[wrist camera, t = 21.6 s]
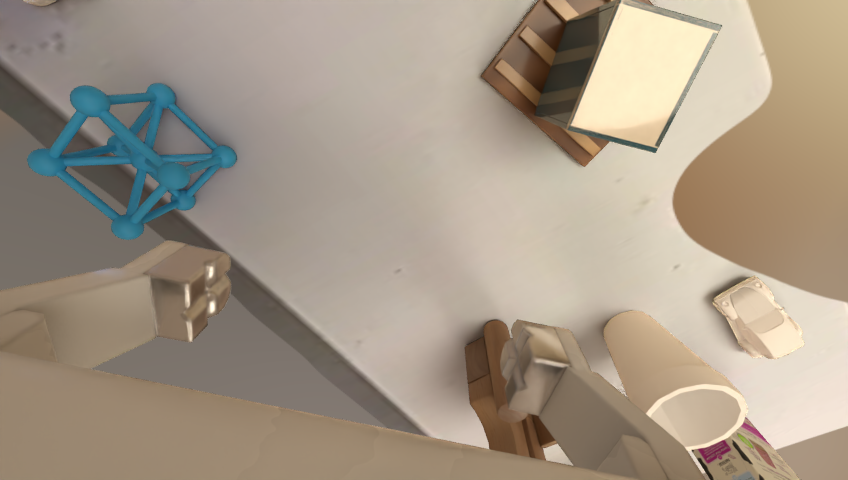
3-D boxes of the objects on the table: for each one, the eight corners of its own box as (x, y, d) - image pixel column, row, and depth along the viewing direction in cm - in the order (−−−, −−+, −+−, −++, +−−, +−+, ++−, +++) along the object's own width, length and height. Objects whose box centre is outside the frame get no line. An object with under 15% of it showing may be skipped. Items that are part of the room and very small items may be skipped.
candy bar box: (648, 390, 50) (736, 524, 35) (676, 368, 48) (781, 500, 33) (704, 420, 52) (809, 558, 37) (733, 400, 50) (856, 538, 35)
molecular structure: (115, 142, 38) (13, 163, 29) (165, 77, 35) (69, 78, 26) (192, 210, 41) (122, 248, 32) (245, 156, 38) (183, 181, 29)
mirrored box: (655, 153, 25) (722, 25, 21) (567, 130, 24) (622, -4, 21) (598, 132, 34) (639, 39, 30) (533, 115, 33) (567, 19, 30)
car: (794, 327, 44) (831, 354, 40) (743, 352, 46) (774, 380, 42) (753, 267, 41) (789, 289, 37) (701, 296, 43) (729, 321, 39)
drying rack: (480, 76, 33) (482, 76, 32) (585, -63, 29) (592, -70, 27) (581, 165, 37) (586, 168, 35) (691, 53, 32) (701, 52, 31)
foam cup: (664, 292, 43) (749, 374, 31) (669, 347, 46) (747, 440, 35) (585, 312, 45) (636, 397, 33) (596, 364, 48) (646, 457, 36)
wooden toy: (556, 386, 50) (650, 640, 28) (516, 404, 52) (572, 656, 30) (499, 315, 45) (555, 553, 23) (456, 338, 47) (470, 578, 25)
